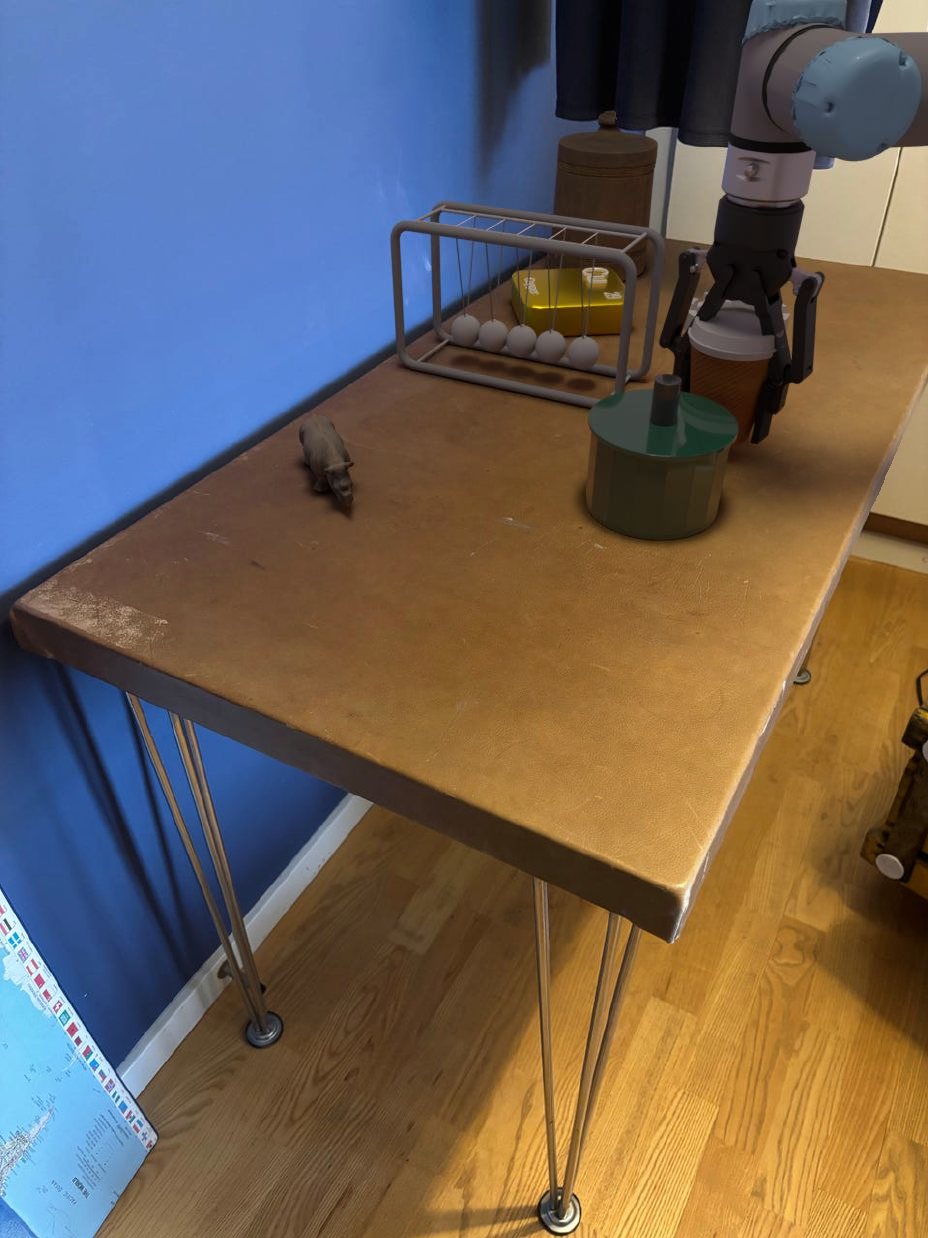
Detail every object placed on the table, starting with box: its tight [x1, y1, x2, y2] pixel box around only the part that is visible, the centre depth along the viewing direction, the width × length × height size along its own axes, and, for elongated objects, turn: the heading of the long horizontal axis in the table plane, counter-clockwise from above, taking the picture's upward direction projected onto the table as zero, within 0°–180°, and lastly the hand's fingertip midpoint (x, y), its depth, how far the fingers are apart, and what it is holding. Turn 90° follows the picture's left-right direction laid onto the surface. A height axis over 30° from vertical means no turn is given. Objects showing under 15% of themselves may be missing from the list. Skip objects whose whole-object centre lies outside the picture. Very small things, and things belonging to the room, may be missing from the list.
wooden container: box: [549, 110, 659, 282], centre depth 137 cm, size 15×15×22 cm
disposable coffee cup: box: [688, 306, 784, 447], centre depth 93 cm, size 10×10×12 cm
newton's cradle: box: [389, 200, 666, 409], centre depth 108 cm, size 30×10×18 cm, turn 62°
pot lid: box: [587, 373, 739, 461], centre depth 83 cm, size 14×14×5 cm
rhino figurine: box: [298, 413, 355, 507], centre depth 90 cm, size 4×14×6 cm, turn 21°
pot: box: [585, 431, 731, 541], centre depth 87 cm, size 13×13×8 cm
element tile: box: [510, 267, 625, 338], centre depth 127 cm, size 15×15×5 cm
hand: (720, 426), depth 96 cm, fingers closed on disposable coffee cup, 8 cm apart
